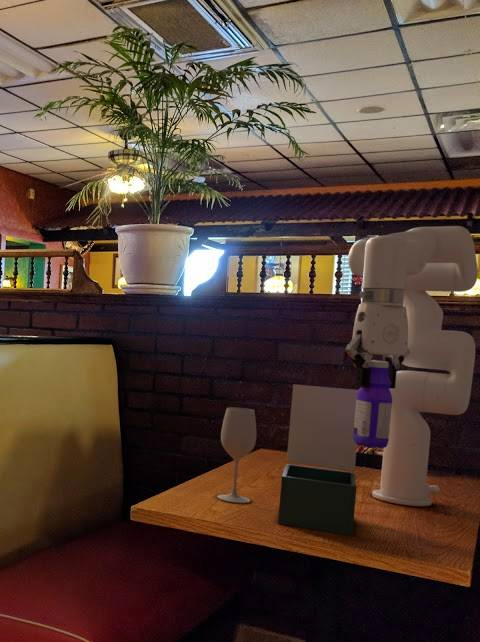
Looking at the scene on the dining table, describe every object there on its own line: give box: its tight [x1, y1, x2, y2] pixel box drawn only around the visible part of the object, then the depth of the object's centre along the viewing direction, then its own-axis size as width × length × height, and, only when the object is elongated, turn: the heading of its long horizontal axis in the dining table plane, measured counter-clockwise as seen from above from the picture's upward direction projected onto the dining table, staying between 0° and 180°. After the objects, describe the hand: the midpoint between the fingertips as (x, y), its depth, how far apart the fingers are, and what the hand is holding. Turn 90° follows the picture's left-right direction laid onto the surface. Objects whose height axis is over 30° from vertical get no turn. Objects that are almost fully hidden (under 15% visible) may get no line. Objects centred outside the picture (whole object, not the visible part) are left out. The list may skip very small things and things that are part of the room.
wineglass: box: [216, 406, 257, 504], centre depth 172 cm, size 8×8×21 cm
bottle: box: [353, 359, 392, 449], centre depth 152 cm, size 7×6×17 cm
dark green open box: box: [277, 463, 357, 536], centre depth 157 cm, size 17×14×10 cm
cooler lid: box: [286, 384, 359, 472], centre depth 165 cm, size 18×14×1 cm
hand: (374, 386), depth 152 cm, fingers closed on bottle, 5 cm apart
